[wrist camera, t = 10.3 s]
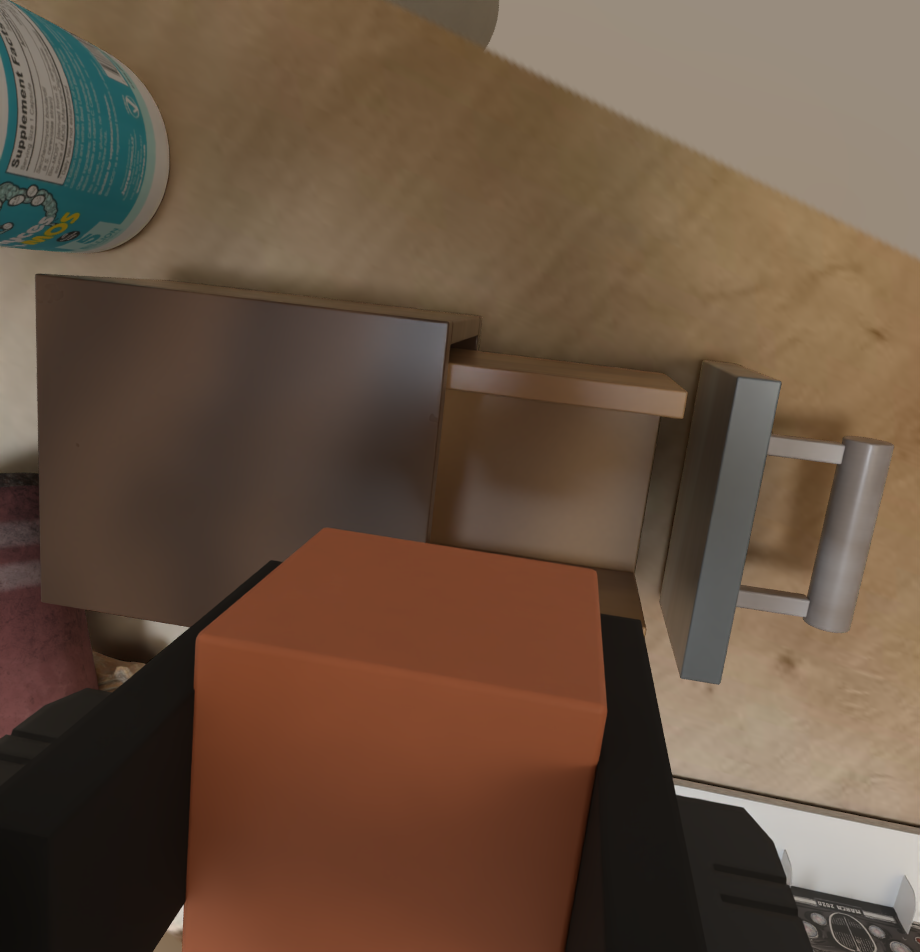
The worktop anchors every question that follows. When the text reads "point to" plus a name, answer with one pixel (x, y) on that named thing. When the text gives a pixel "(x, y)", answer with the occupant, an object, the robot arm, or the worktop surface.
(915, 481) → the worktop surface
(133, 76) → the pill bottle
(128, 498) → the cabinet
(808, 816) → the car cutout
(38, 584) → the can
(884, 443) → the drawer
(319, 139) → the worktop surface
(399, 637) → the block
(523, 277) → the worktop surface
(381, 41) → the worktop surface
